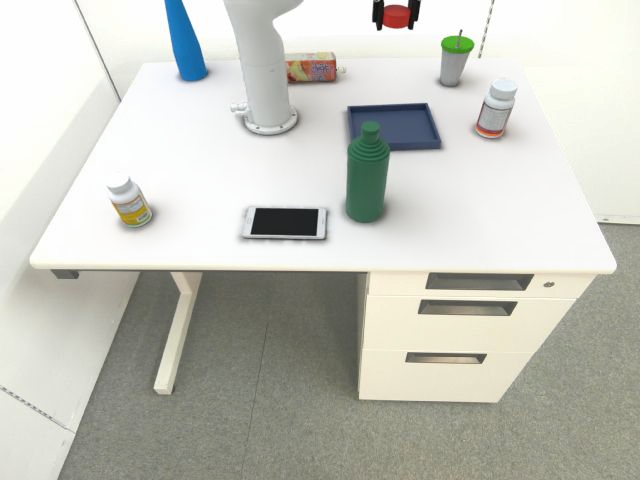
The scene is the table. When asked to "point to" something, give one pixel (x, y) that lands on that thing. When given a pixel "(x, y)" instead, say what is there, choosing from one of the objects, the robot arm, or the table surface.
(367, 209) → the water bottle
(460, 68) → the cup
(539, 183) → the table surface
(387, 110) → the tray
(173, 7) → the bottle
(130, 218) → the supplement bottle
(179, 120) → the table surface
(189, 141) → the table surface
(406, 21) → the cap
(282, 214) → the smartphone
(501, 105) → the pill bottle
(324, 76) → the juice carton
